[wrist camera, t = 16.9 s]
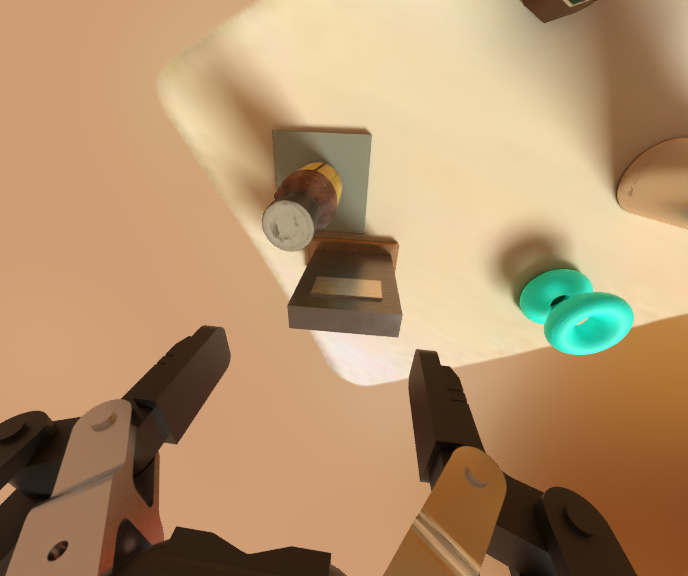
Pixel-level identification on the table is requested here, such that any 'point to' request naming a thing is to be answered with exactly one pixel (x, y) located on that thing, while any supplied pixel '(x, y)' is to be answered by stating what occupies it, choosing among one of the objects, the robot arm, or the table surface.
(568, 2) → the beer bottle
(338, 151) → the mat
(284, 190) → the sauce bottle
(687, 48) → the table surface
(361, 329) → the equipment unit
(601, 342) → the donuts
